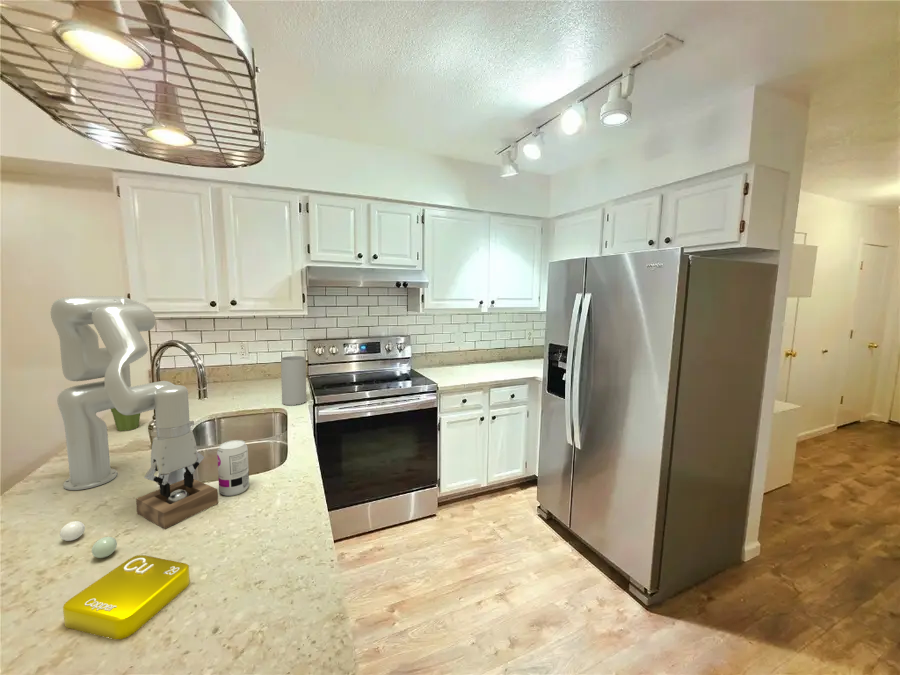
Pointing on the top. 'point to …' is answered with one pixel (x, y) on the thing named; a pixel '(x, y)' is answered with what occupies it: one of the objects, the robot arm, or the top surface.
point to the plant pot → (125, 420)
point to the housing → (176, 504)
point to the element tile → (126, 597)
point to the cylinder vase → (293, 380)
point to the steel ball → (177, 496)
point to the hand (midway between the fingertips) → (177, 490)
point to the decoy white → (72, 531)
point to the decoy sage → (104, 547)
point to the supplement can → (233, 467)
